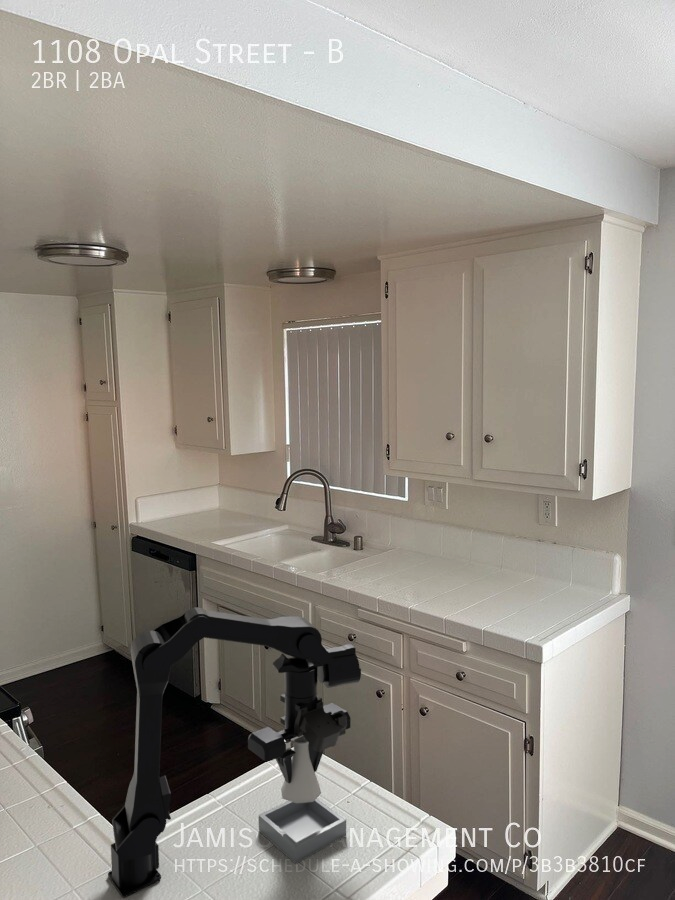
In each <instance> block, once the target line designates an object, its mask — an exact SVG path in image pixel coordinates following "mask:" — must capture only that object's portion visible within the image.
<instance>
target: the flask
mask: <svg viewBox="0 0 675 900" xmlns="http://www.w3.org/2000/svg"><path fill="white" fill-rule="evenodd" d="M291 742H292V746H293V749H292V750H293V751H295V752H296V753H295V754H294V755H293V756H292V778H291V783H287V782H286V781H285V779H284V780H283V783H282V785H281V789H280V790H281V797H282V798H281V799H283V800H285V801H291V802H294V803H306V802H313V801H314V800H315V799H316V798H318V797H319V796H320V795H321V794H322V790H321V786H320V783H319V780H318V779H319V778H318V777H317V775H316V772H314V769H313V766H312V763H311V760H310V757H309V751H308V744H309V742H308V741H307V740H306V739H305V737H304V736H302V737H299V738H297V739H294V740H292V741H291Z"/></svg>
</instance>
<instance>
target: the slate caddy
mask: <svg viewBox="0 0 675 900" xmlns="http://www.w3.org/2000/svg"><path fill="white" fill-rule="evenodd" d="M258 832H260V833H261V834H262V835H263V836H264V837H265V838H266V839H267V840H268V841H270V843H272V844H273V845H274V846H275V847H276V848H277V849H278V850H280V852H282V853H283V854H284V855H285V857H287V858H289V860H291V861H292V862H293V863H294V864H296V865H297V864H298V863H299V862H302V861H303V860H305V859H307V858H308V857H311V856H312V855H314V854H316V853H318V852H320V851H321V850H323V849H325V848H327V847H329V846H331V845H333V844H334V843H336V842H338V841H340V840H342V839H343V838H345V837H347V819H346V818H345V817H344V816H342V815H341V814H339V813H338V812H337V811H335V810H334V809H333V808H331V807H330V806H329V805H327V804H326V803H324V802H323V801H322V800H320V799H319V798H318V797H317V798H316V799H315V800H314V801H313V802H306V803H294V802H291V801H288V800H286V801H284V802H282V803H281V804H279V805H276V806H275V807H272V808H270V809H268V810H266V811H264V812H261V813H260V814H258Z"/></svg>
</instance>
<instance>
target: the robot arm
mask: <svg viewBox="0 0 675 900" xmlns="http://www.w3.org/2000/svg"><path fill="white" fill-rule="evenodd" d="M204 638H205V639H212V640H217V641H226V642H233V643H234V642H235V643H240V644H249V645H254V646H255V645H256V646H263V647H264V646H265V647H268V648H272V649H274V650H275V651H278V652H280V653H281V654H280V655H279V657H278V658H276V659H275V660H274V661H273V662H272V667H274V668H275V670H276V671H277V673H278V674H284V693H283V694H280V698H279V699H280V701H281V702H282V703H283V704H284V715H283V716H281V717H280V721H279V722H280V724H281V725H283V726H284V729H282V730H279V731H276V730H274V729H272V728H271V727H270V726H266V727H263V728H261V729H258V730H255V731H253V732H251V733H250V734H249V735H248V738H247V749H248V750H249V751H251V752H252V753H253V754H255V755H256V756H257V757H259V758H260V759H261V760H263V761H264V762H271V761H274V760H275V761H276V763H277V764H278V767H279V770H280V772H281V774H282V776H283V779H284V780H285V781H286V782H287V783H291V778H292V756H293V755H294V754H295V753H296V752H295V751H293V750H294V749H292V747H291V744H292V742H293V741H292V740H294V739H297V738H299V737H302V736H304V737H305V739H306V740H307V741H308V742H309V744H308V751H309V757H310V760H311V763H312V766H313V769H314V772H315V773H316V772H317V771H318V768H319V765H320V762H321V760H322V757H323V753H324V751H325V750H327V749H329V748H331V747H332V748H333V747H335V746H337V743H338V740H339V738H340V737H341V736H343V735H345V734H346V730H348V729H350V728H351V726H352V716H351V714H350V712H349V711H348V710H346V709H344V708H342V707H340V706H339V705H337V704H335V703H334V702H331V703H327V704H325V705H324V702H323V698H322V697H320V696H319V695H318V681H319V683H320V684H324V686H325V688H327V689H329V688H336V687H341V686H347V685H353V684H358V683H359V682H360V681H361V678H362V677H361V676H362V668H361V666H360V662H359V658H358V656H357V652H356V647H355V646H354V645H352V644H351V643H347V644H343V645H341V646H335V647H329V648H327V647H325V646H324V645H323V643H322V642H323V638H322V634H321V631H319V629H318V628H317V627H315V626H314V624H312V623H311V622H310V621H309V620H308V619H306V618H305V617H304V616H300V615H299V616H297V615H295V616H294V615H292V616H290V615H289V616H288V615H287V616H286V615H285V616H280V617H275V618H261V617H254V616H248V615H241V614H235V613H234V614H233V613H227V612H220V611H215V610H209V609H208V610H207V609H204V608H202V607H192V608H190V609H188V610H186V611H185V612H183V613H182V614H181V615H178V616H176V617H174V618H171V619H169V620H166V621H165V622H163V623H162V622H161V624H159V625H157V626H156V627H155V628H153V629H151V630H150V629H149V630H145V631H142V632H141V633H139V634H137V636H135V638H133V640H132V641H131V643H130V655H131V662H132V668H133V674H134V680H135V681H134V682H135V686H136V713H135V714H136V715H135V739H134V740H135V743H134V766H133V767H134V771H133V774H132V778H131V780H130V782H129V786H128V789H127V794H126V798H125V802H124V805H123V806H122V808H121V809H120V810H119V811H118V812H117V814H115V816H114V817H113V818H112V819H111V821H112V822H111V823H112V829H113V837H114V838H113V839H114V842H113V843H111V844H110V854H111V855H110V857H111V858H110V859H111V860H110V861H111V870H110V871H108V873H107V877H108V878H109V881H111V883H112V885H113V886H114V888H115V889H116V890H117V892H118V893H119V895H120V896H121V897H122V898H126V897H128V896H130V895H133V894H134V893H137V892H138V891H140V890H142V889H144V888H146V887H149V886H150V885H152V884H155V883H156V882H158V881H160V880H161V879H162V875H161V873H160V872H159V870H158V869H159V868H160V851H159V849H160V848H159V847H160V845H159V844H158V843H157V839H158V837H159V836H160V835H161V833H163V832H164V831H165V830H166V827H167V826H166V825H167V820H168V821H170V820H172V817H171V814H170V805H171V797H172V793H171V790H170V786H169V783H168V779H167V775H162V776H161V775H160V773H161V771H160V769H161V749H162V748H161V747H162V721H163V719H162V717H163V700H164V699H163V698H164V697H163V696H164V693H165V690H166V688H167V685H168V683H169V680H170V674H171V670H172V666H173V665H174V664H176V663H177V662H178V661H180V660H181V659H182V658H183V657H185V656H186V654H187V653H188V652H189V651H190V650H191V649H192V648H193V647H194V646H195V645H196V644H197V643H198V642H199V641H201V640H203V639H204ZM288 656H289V657H288Z"/></svg>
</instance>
